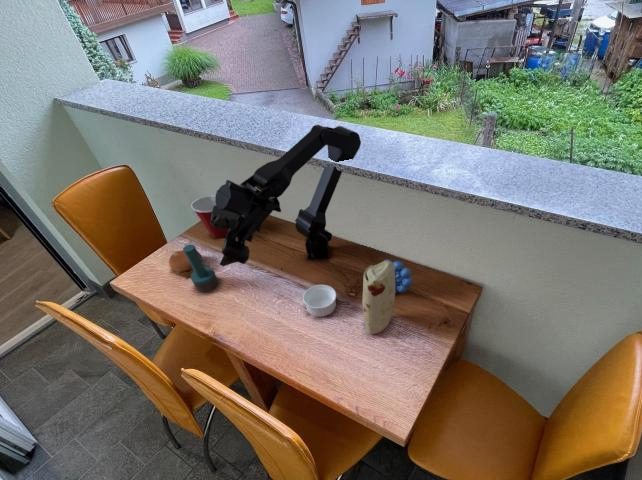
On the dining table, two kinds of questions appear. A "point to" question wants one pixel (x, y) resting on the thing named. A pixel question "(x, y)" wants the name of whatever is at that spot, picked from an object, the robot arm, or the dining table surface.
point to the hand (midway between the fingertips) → (223, 254)
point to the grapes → (401, 277)
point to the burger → (181, 264)
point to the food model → (378, 296)
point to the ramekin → (320, 300)
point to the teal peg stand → (200, 271)
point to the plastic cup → (207, 215)
